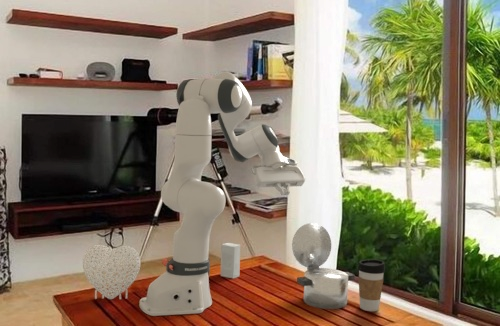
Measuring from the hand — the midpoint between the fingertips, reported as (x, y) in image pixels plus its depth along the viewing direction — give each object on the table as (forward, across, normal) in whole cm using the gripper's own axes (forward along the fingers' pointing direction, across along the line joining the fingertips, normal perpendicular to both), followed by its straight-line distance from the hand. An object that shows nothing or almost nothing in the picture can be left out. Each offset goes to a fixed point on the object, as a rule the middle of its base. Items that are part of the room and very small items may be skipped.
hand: (285, 194), depth 190 cm
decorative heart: (+25, -64, +19) cm, 71 cm away
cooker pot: (+42, 0, +2) cm, 42 cm away
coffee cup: (+50, +10, -5) cm, 51 cm away
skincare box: (+18, -19, +26) cm, 37 cm away
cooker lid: (+25, 0, -4) cm, 25 cm away
